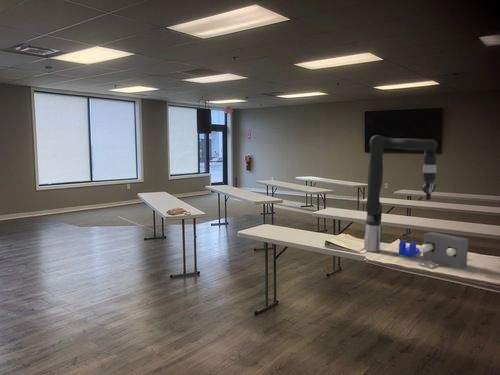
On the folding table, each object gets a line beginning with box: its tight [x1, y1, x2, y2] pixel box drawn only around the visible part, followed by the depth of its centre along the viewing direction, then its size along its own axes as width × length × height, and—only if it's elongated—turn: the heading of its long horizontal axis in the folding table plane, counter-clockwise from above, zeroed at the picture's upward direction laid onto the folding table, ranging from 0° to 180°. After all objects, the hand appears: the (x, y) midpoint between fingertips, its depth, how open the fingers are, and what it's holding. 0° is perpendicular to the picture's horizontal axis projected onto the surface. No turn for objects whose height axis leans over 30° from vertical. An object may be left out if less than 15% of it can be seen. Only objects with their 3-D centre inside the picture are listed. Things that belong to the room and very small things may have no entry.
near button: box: [446, 248, 457, 256], centre depth 221 cm, size 8×4×4 cm, turn 124°
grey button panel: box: [422, 231, 469, 270], centre depth 228 cm, size 8×22×16 cm, turn 34°
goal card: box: [418, 262, 438, 270], centre depth 223 cm, size 6×8×1 cm
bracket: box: [398, 239, 421, 258], centre depth 250 cm, size 18×8×9 cm, turn 140°
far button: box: [420, 243, 435, 253], centre depth 230 cm, size 8×4×4 cm, turn 124°
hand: (428, 199), depth 244 cm, fingers closed
